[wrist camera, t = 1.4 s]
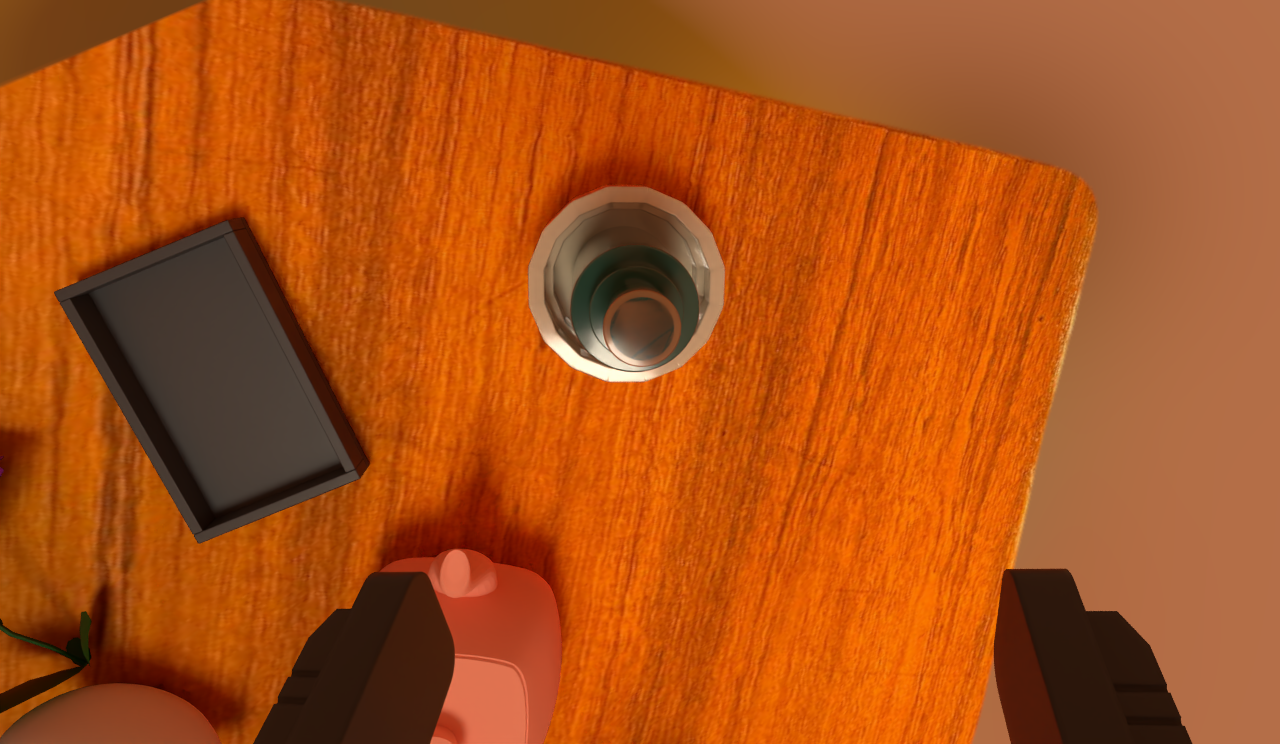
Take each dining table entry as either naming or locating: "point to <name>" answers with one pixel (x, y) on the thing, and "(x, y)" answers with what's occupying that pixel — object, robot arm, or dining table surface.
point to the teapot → (494, 648)
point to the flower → (31, 688)
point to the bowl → (601, 212)
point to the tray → (215, 378)
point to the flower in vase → (113, 718)
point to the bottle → (632, 300)
